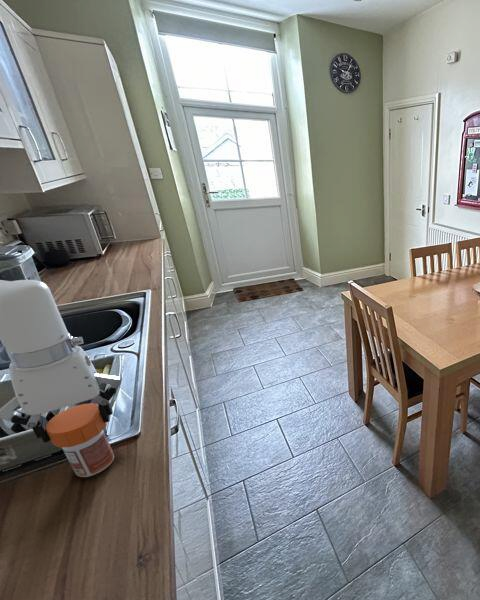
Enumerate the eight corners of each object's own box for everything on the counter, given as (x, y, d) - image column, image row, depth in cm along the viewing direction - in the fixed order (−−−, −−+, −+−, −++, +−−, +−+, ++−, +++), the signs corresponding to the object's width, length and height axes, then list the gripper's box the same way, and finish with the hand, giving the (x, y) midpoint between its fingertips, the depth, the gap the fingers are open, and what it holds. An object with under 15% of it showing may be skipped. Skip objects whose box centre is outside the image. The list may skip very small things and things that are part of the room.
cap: (41, 448, 60) (33, 434, 59) (74, 417, 67) (67, 404, 66) (88, 445, 61) (81, 431, 60) (115, 415, 68) (110, 402, 67)
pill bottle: (118, 449, 72) (102, 409, 67) (110, 471, 67) (92, 431, 62) (81, 458, 69) (62, 418, 65) (70, 483, 64) (48, 441, 60)
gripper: (108, 328, 64) (134, 399, 71) (-28, 356, 54) (18, 435, 61) (108, 345, 59) (135, 419, 66) (-44, 380, 49) (8, 463, 56)
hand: (78, 427), depth 64 cm, fingers closed on cap, 8 cm apart
